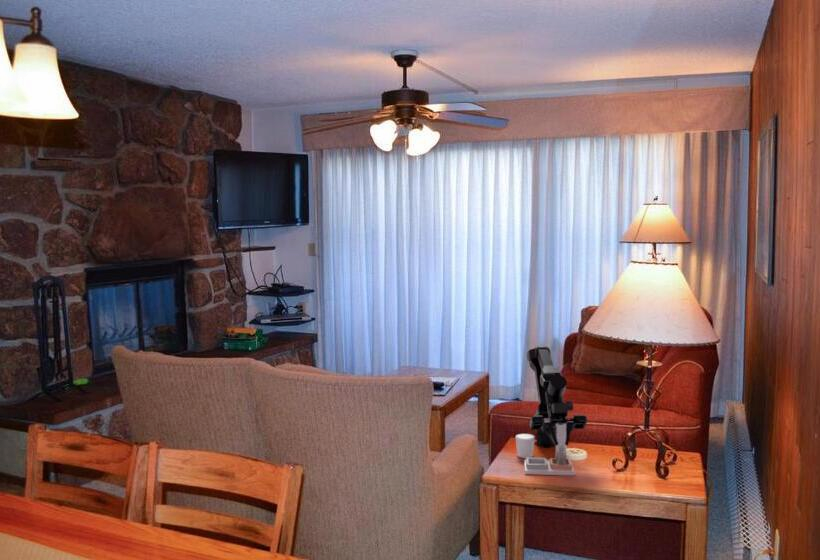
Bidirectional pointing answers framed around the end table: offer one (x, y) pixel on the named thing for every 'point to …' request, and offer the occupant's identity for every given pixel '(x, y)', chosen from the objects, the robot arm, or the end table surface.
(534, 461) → the grey compartment tray
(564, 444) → the steel pin
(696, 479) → the end table surface
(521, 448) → the white cup
